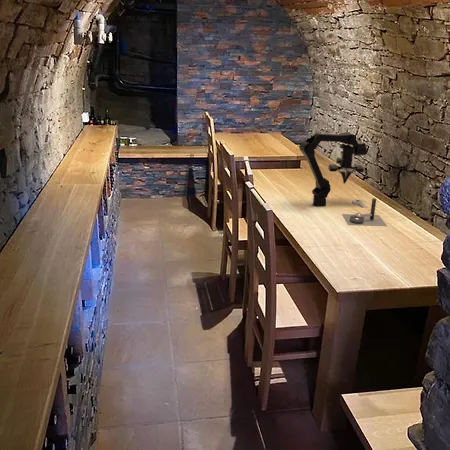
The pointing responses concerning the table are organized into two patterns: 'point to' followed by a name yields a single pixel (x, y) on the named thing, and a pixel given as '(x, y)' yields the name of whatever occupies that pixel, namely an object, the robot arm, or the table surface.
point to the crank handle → (360, 217)
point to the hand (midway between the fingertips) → (344, 183)
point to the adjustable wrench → (360, 203)
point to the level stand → (365, 221)
